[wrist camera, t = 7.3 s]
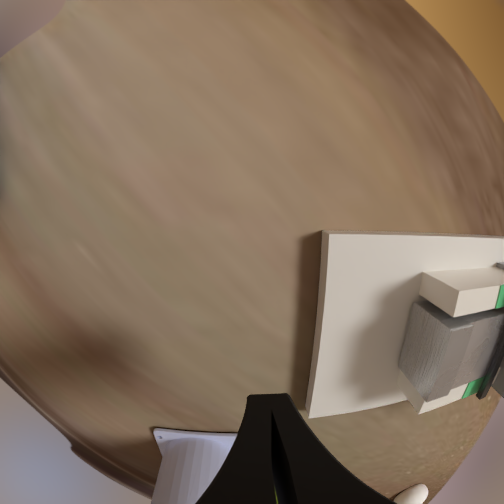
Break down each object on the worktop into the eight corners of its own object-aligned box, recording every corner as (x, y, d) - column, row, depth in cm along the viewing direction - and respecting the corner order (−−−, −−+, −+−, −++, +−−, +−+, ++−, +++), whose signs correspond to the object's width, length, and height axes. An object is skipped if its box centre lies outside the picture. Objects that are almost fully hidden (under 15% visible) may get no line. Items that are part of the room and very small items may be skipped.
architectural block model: (509, 236, 17) (582, 259, 8) (477, 365, 20) (527, 411, 11) (322, 230, 17) (404, 275, 7) (305, 405, 20) (330, 501, 10)
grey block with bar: (488, 268, 16) (528, 285, 11) (461, 367, 18) (489, 394, 13) (418, 273, 16) (463, 297, 11) (391, 386, 18) (417, 425, 13)
